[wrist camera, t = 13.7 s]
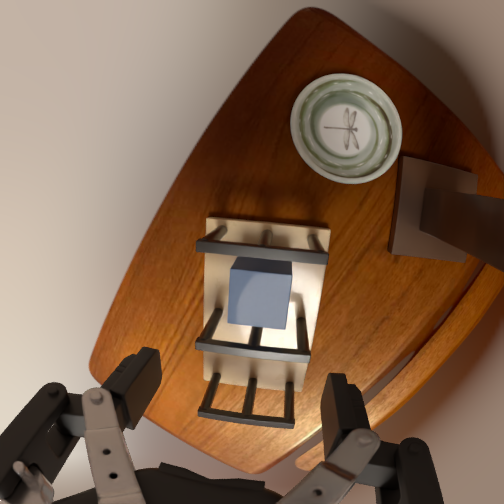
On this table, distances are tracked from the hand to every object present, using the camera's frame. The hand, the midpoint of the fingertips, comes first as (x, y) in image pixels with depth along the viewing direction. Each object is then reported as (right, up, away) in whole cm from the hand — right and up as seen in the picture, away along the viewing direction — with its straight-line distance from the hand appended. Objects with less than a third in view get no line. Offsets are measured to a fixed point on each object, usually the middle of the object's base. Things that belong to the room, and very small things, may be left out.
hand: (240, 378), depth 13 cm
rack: (+1, 0, +16) cm, 16 cm away
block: (+2, +3, +14) cm, 15 cm away
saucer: (+9, +17, +11) cm, 22 cm away
